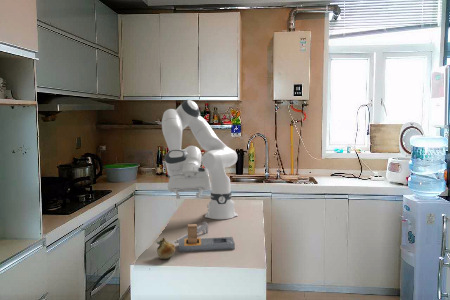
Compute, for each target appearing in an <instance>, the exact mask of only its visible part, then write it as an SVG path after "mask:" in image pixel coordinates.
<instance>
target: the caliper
mask: <svg viewBox="0 0 450 300" xmlns="http://www.w3.org/2000/svg"><path fill="white" fill-rule="evenodd" d="M200 233H203V235H205V234H206V233H207V234H209V224H208V223H207V221H204V222H203V221H202V224H201V225H199V226H197V234H200ZM182 239H188V233H187V234H185V235H182V236H181V237H178V238H177V239H176V241H174V243H175V244H177V243H179V240H182Z"/></svg>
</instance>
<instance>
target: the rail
mask: <svg viewBox="0 0 450 300" xmlns="http://www.w3.org/2000/svg"><path fill="white" fill-rule="evenodd" d="M235 248H236V244H235V240H234V238H233V236H226V237H224V236H223V237H208V238H207V237H206V238H205V237H203V238H201V237H197V243H193V244H188V238H186V239H182V240H179V242H178V252H179V253H184V252H201V251H203V252H205V251H207V252H208V251H222V250H223V251H224V250H236V249H235Z"/></svg>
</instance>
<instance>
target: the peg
mask: <svg viewBox="0 0 450 300" xmlns="http://www.w3.org/2000/svg"><path fill="white" fill-rule="evenodd" d="M197 227H198V224H196V223H191V224H187V234H188V238H187V239H188V244H193V243H197V238H198V233H197Z"/></svg>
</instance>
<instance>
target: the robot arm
mask: <svg viewBox="0 0 450 300" xmlns="http://www.w3.org/2000/svg"><path fill="white" fill-rule="evenodd" d="M187 127H189V129H190V131H191V133H192V135H193V137H194V139H195V140H196V141H197V143H198V145H199V146H200V148H201V149H203V151H204V150H205V151H206V152H204V154H203V155H202V152H201V149H200V148H199V147H197V146H195V145H189V146H187V147H185V148H183V149H182V146H183V145H182V143H183V142H182V141H183V131H184V130H185V129H186V128H187ZM161 129H162V130H161V131H162V134H163V137H164V140H165V142H166V145H167V148H168V152H166V154H165V155H164V158H163V159H164V163H165V167H166V171H167V177H168V183H167V190H168V191H169V193H175V199H177V200H179V199H180V198H181V195H180V192H183V193H184V192H196V195H195V197H196V199H199V198H201V195H202V193H204V191H210V190H211V192H210V201H208V203H207V207H206V208H207V212H206V214H205V216H204V218H208V219H212V220H228V219H229V220H230V219H232V218H235V217H238V215H239V214H238V213H237V212H235V201H234V200H232V191H231V179H230V176H228V175H227V173H226V169H227V168H231V167H232V166H234V165H235V164H236V163H237V161H238V154H237V151H235V150H234V149H232V148H231V147H229V146H227V144H225V143H224V142H223V141H222V140H221V139H220V138H219V137H218V136H217V134H216V133H215V131H214V130H213V128H212V127H211V125H210V124H209V123H208V122H207V121H206V119H205V118H204V117H203V116H201V112H200V109H199V105H198V104H197V103H196V102H195V101H194V100H191V99H185V100H184V101H183V102H181V104H180V105H179V106H178V107H177V108H176V109H174V108H169V109H166V110H165V111H164V112H163V115H162V119H161ZM201 165H202V166H203V167H201ZM197 191H198V192H197Z"/></svg>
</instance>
